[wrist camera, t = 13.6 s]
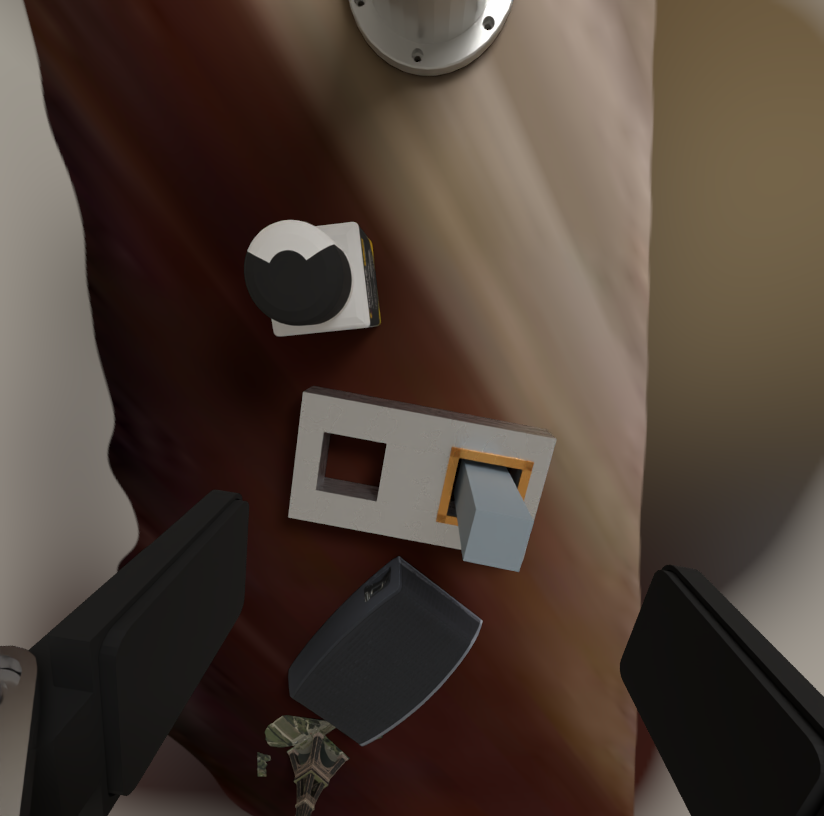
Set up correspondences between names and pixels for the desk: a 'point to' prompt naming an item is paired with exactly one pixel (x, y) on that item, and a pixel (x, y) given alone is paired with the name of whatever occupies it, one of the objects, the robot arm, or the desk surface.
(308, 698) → the external hard drive
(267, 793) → the desk surface
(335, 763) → the eiffel tower figurine
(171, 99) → the desk surface
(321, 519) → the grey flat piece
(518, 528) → the peg
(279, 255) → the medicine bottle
